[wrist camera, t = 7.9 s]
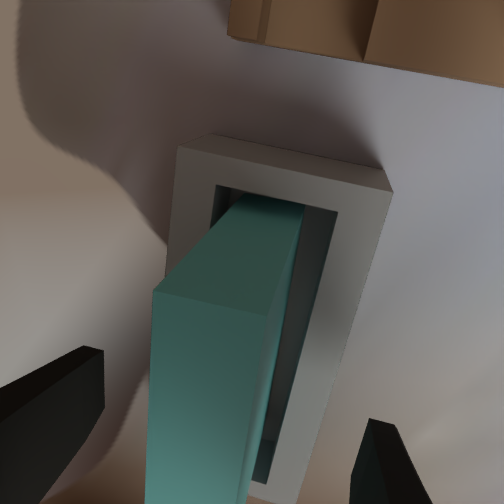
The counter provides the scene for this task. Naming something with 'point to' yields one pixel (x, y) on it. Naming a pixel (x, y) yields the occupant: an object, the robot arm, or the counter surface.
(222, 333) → the board
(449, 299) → the counter surface
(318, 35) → the rack
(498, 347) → the counter surface
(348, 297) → the stand
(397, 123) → the counter surface
